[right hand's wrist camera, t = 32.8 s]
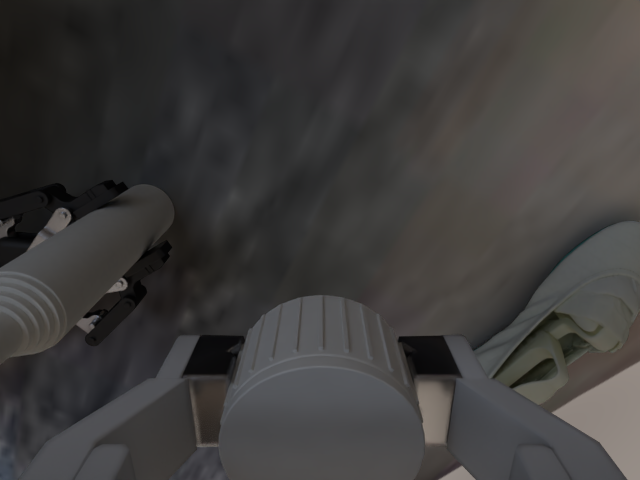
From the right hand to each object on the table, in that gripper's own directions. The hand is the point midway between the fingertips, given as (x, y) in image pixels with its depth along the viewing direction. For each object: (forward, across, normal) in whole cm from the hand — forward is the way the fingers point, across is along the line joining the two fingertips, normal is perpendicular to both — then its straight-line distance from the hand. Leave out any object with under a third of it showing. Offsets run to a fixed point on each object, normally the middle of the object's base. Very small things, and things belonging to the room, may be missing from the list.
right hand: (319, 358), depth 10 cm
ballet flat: (+29, -22, +16) cm, 40 cm away
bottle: (+29, +16, +5) cm, 33 cm away
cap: (-2, 0, 0) cm, 2 cm away
